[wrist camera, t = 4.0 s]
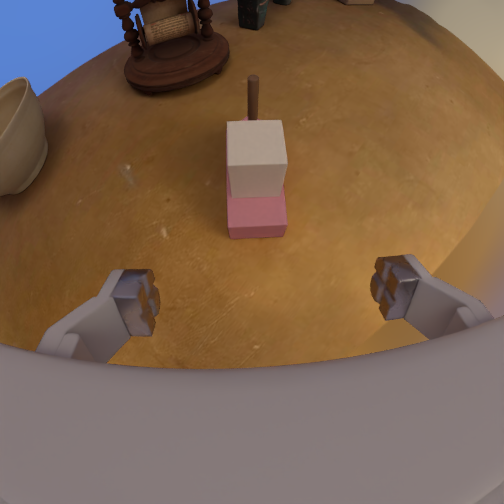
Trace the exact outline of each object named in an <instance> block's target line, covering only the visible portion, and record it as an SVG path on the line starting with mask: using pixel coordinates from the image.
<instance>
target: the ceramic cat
mask: <svg viewBox="0 0 504 504" xmlns="http://www.w3.org/2000/svg"><path fill="white" fill-rule="evenodd" d="M237 1H238V19H239V26H240V27H244V28H248V29H254V30H258V29H259V28H261V27H262V26H263V25H264V21H265V16H266V11H267V6H268V3H269V0H237ZM273 2H274V3H278V4H281V5H288V4H290V2H291V0H273Z"/></svg>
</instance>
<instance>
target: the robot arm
mask: <svg viewBox="0 0 504 504" xmlns="http://www.w3.org/2000/svg"><path fill="white" fill-rule="evenodd" d="M374 267H375V269H376V271H377V272H376V273H375V274H374V275H373V276H372V278H371V283H370V291H371V295H372V297H373V299H374V301H376V302H378V303H379V304H380V306H379V310H380V312H381V314H382V315H383V317H384V319H385V321H386V320H393V319H400V318H404V319H405V320H406V321H407V322H409V323H410V324H411V325H412V326H413V327H415V328H416V329H417V330H418V331H420V332H421V333H422V334H423V335H425V336H426V337H427V338H428V339H429V340H427V341H424V342H420V343H416V344H412V345H408V346H403V347H399V348H395V349H390V350H386V351H381V352H375V353H370V354H365V355H359V356H353V357H347V358H341V359H334V360H327V361H320V362H311V363H303V364H293V365H282V366H270V367H254V368H231V369H173V368H152V367H138V366H126V365H116V364H107V362H108V361H109V360H110V359H111V358H112V356H113V355H114V354H115V353H116V352H117V351H118V350H119V349H120V348H121V347H122V346H123V345H124V344H125V343H126V342H127V341H128V340H129V339H130V336H152V335H153V331H154V328H155V324H156V322H155V319H154V317H155V316H156V315H158V314H159V310H160V294H159V291H158V288H157V287H155V286H154V285H153V283H154V281H155V277H154V273H153V271H152V270H151V269H126V270H125V269H118V270H112V271H111V273H110V275H109V276H108V278H107V280H106V281H105V283H104V285H103V287H102V288H101V290H100V292H99V294H98V296H97V297H92V298H91V299H89V300H88V301H87V302H85V303H84V304H82V305H81V306H79V307H78V308H76V309H75V310H73V311H72V312H71V313H69V314H68V315H66V316H65V317H63V318H62V319H61V320H59V321H58V322H56V323H55V324H54V325H52V326H51V327H49V328H48V329H47V330H46V332H45V334H44V336H43V338H42V339H41V341H40V343H39V345H38V347H37V349H36V351H35V352H34V351H30V350H26V349H21V348H17V347H13V346H10V345H6V344H2V343H0V504H504V315H503V316H501V317H498V318H496V319H494V317H493V316H492V315H491V314H490V312H489V311H488V310H487V309H486V307H485V306H484V305H483V303H482V302H481V301H480V300H478V299H476V298H474V297H473V296H471V295H469V294H467V293H465V292H463V291H461V290H460V289H458V288H456V287H454V286H452V285H450V284H448V283H446V282H444V281H442V280H440V279H438V278H436V277H432V276H431V275H430V274H429V272H428V271H427V270H426V269H425V268H424V267H423V265H422V264H421V263H420V262H419V261H418V260H417V258H416V257H415V256H414V255H412V254H407V255H400V256H388V257H378V258H377V260H376V263H375V266H374Z"/></svg>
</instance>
